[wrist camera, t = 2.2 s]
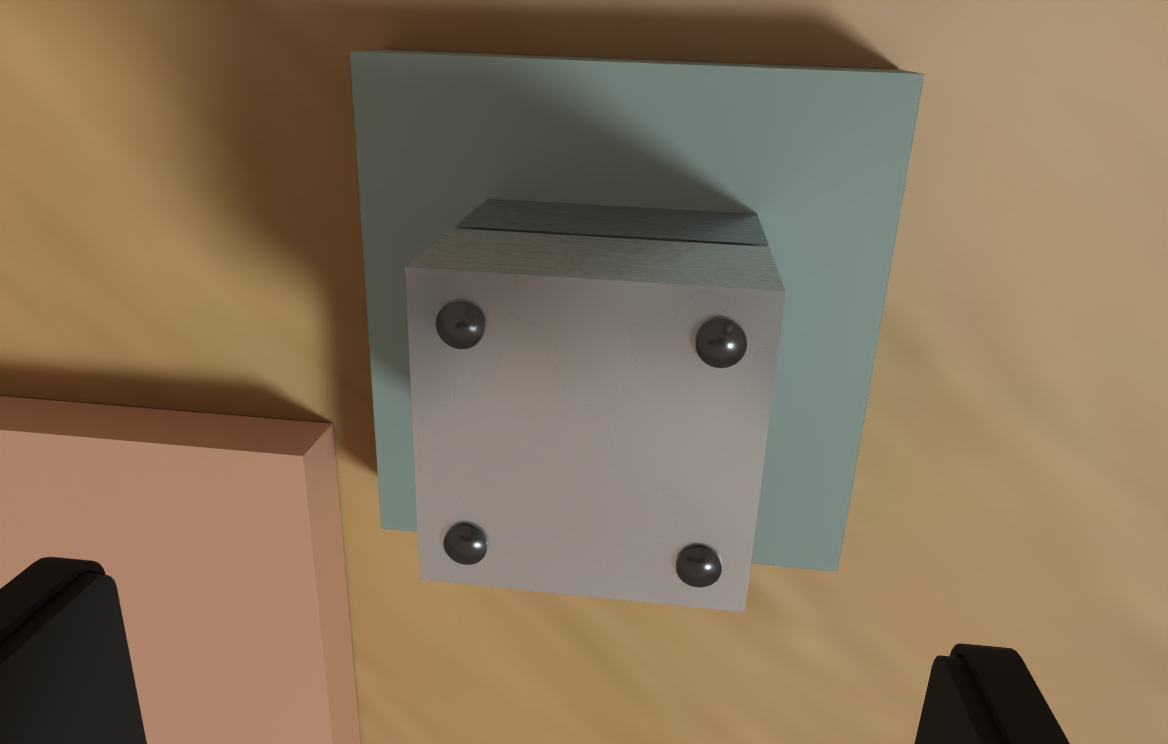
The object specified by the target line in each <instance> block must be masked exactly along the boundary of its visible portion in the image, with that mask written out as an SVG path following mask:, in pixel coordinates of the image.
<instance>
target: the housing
mask: <svg viewBox="0 0 1168 744" xmlns="http://www.w3.org/2000/svg"><path fill="white" fill-rule="evenodd" d="M768 246H769V244H768V241H767V239H766V236H765V233H764V230H763V228H762V225H761V222H760V220H759V217H758V214H753V213H735V212H717V211H699V210H681V209H663V208H646V207H628V206H610V205H592V204H574V203H556V202H538V201H520V200H502V199H487V200H486V201H484V202H483V203H482V204H481V205H480V206H478V207H477V208H476V209H475V210H474V211H472V212H471V213H470V214H469V215H467V216H466V217H465V218H464V219H463V220H461V221H460V222H459V223H458V224H457V225H455V228H452V229H450V230H449V231H448V232H447V233H446V234H444V235H443V236H442V237H441V238H440V239H438V240H437V241H436V242H435V243H434V244H432V245H431V246H430V247H429V248H427V249H426V250H425V251H424V252H423V253H421V254H420V255H419V256H418V257H417V258H415V259H414V260H413V261H412V262H410V263H409V264H408V265H407V266H406V267H405V277H406V298H407V318H408V339H409V360H410V381H411V402H412V423H413V444H414V465H415V486H416V507H417V528H418V549H419V570H420V580H429V581H439V582H449V583H459V584H469V585H479V586H489V587H499V588H509V589H519V590H529V591H539V592H549V593H559V594H569V595H579V596H589V597H599V598H609V599H619V600H629V601H639V602H649V603H659V604H669V605H679V606H689V607H699V608H709V609H719V610H729V611H739V612H745V607H746V599H747V591H748V584H749V576H750V568H751V560H752V552H753V544H754V537H755V529H756V521H757V513H758V505H759V497H760V490H761V482H762V474H763V466H764V458H765V450H766V443H767V435H768V427H769V419H770V411H771V403H772V396H773V388H774V380H775V372H776V364H777V356H778V349H779V341H780V333H781V325H782V317H783V309H784V302H785V294H786V291H785V288H784V285H783V282H782V280H781V277H780V274H779V271H778V269H777V266H776V263H775V261H774V258H773V255H772V252H771V250H770V247H768Z"/></svg>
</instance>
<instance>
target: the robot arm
mask: <svg viewBox="0 0 1168 744" xmlns="http://www.w3.org/2000/svg"><path fill="white" fill-rule="evenodd" d="M0 744H147V741H146V736H145V731H144V725H143V720H142V715H141V710H140V705H139V699H138V694H137V689H136V684H135V679H134V673H133V668H132V663H131V658H130V653H129V647H128V642H127V637H126V632H125V626H124V621H123V616H122V611H121V606H120V600H119V595H118V590H117V586H116V583H115V580H114V579H113V578H112V577H111V576H109V575H106V573H105V571H104V568H103V567H102V566H101V565H100V564H99V563H98V562H95V561H92V560H81V559H71V558H60V557H44V558H41V559H39V560H37V561H35V562H34V563H32V564H31V565H30V566H29V567H27V568H26V569H25V570H24V571H22V572H21V573H20V574H18V575H17V576H16V577H15V578H13V579H12V580H11V581H10V582H8V583H7V584H6V585H5V586H3V587H2V588H1V589H0ZM915 744H1070V743H1069V742H1068V740H1067V738H1066V736H1065V734H1064V733H1063V731H1062V729H1061V727H1060V725H1059V724H1058V722H1057V720H1056V718H1055V717H1054V715H1053V713H1052V711H1051V709H1050V708H1049V706H1048V704H1047V702H1046V701H1045V699H1044V697H1043V695H1042V693H1041V692H1040V690H1039V688H1038V686H1037V685H1036V683H1035V681H1034V679H1033V677H1032V676H1031V674H1030V672H1029V670H1028V669H1027V667H1026V665H1025V663H1024V661H1023V660H1022V658H1021V657H1020V655H1019V654H1018V653H1017V651H1015V650H1013V649H1011V648H1002V647H992V646H981V645H971V644H957V645H955V646H954V648H953V649H952V651H951V654H950V656H937V657H936V658H935V660H934V662H933V665H932V669H931V673H930V678H929V682H928V687H927V691H926V695H925V700H924V704H923V709H922V713H921V718H920V722H919V727H918V731H917V735H916V740H915Z"/></svg>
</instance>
